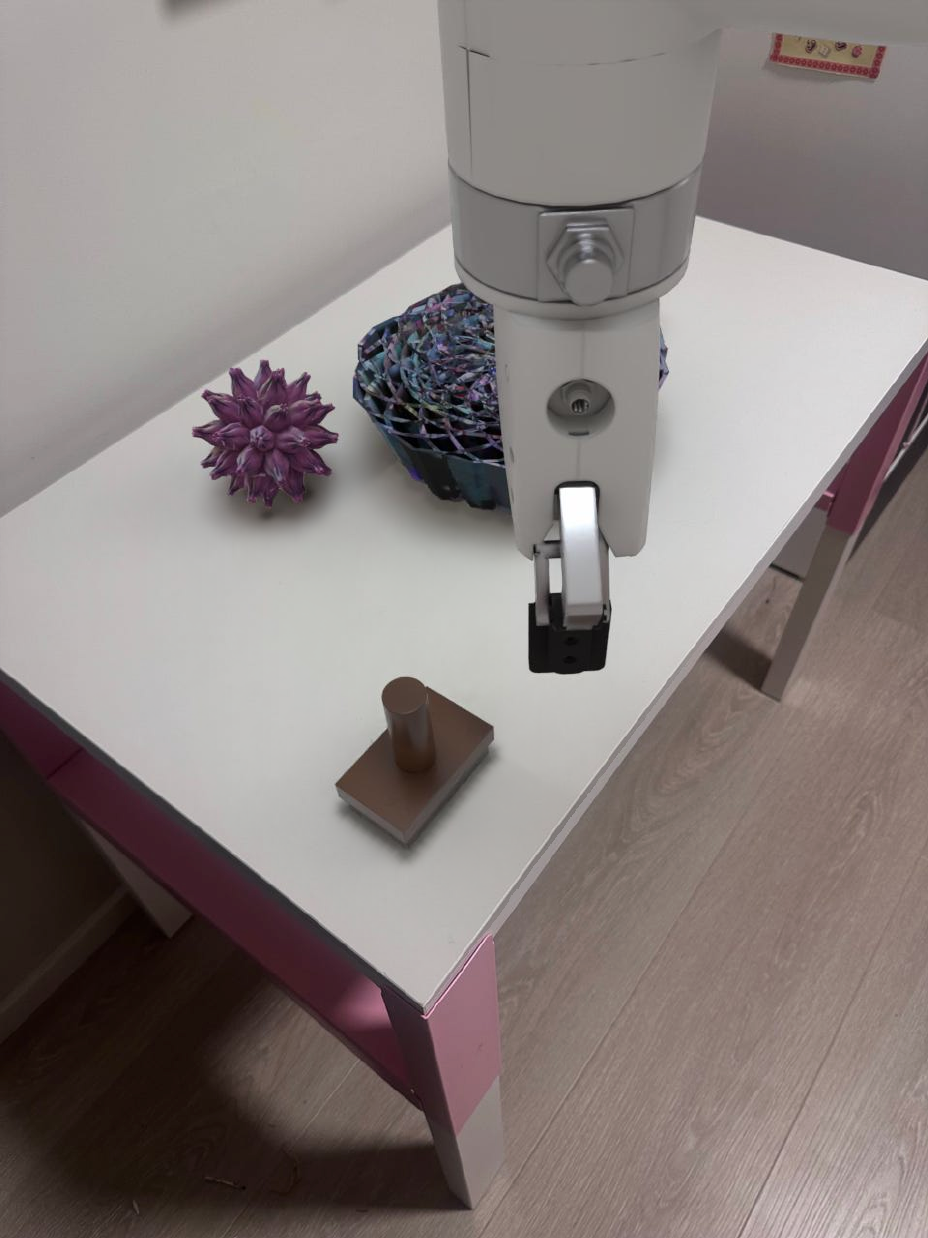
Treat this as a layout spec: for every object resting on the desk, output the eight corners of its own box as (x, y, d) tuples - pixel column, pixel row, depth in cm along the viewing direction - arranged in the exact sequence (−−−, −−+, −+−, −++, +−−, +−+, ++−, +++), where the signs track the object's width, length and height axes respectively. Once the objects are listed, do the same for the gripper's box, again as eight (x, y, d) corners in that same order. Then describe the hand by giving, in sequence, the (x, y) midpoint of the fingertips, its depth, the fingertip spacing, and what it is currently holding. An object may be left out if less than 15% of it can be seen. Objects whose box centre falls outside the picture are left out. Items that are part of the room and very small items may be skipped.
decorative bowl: (312, 485, 79) (283, 397, 71) (478, 315, 91) (469, 224, 83) (562, 594, 69) (561, 506, 61) (710, 386, 81) (725, 291, 73)
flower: (271, 561, 73) (175, 481, 76) (372, 479, 78) (278, 408, 81) (252, 470, 63) (143, 384, 66) (369, 383, 68) (263, 307, 71)
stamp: (430, 711, 60) (416, 622, 53) (495, 751, 58) (490, 664, 51) (342, 808, 56) (314, 725, 49) (408, 855, 54) (389, 777, 46)
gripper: (756, 368, 22) (669, 739, 35) (652, 96, 33) (616, 456, 46) (452, 384, 22) (480, 747, 35) (451, 109, 33) (472, 463, 46)
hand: (557, 581), depth 40 cm, fingers open, 9 cm apart
